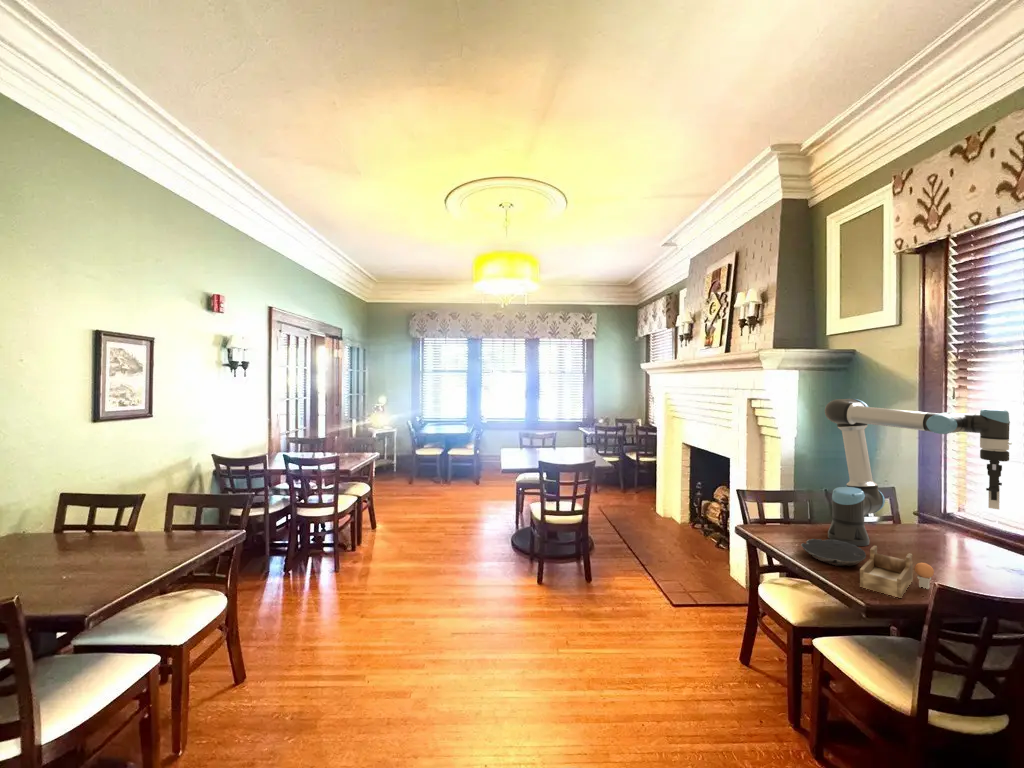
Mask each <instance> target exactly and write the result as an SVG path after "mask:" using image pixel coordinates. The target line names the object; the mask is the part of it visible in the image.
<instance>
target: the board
mask: <svg viewBox="0 0 1024 768" xmlns="http://www.w3.org/2000/svg"><path fill="white" fill-rule="evenodd" d="M805 542H806V543H804V542H802V543H801V547H802V549H803V550H804V551H805V552H806V553H808V554H809V555H810V556H811V555H812V556H811V557H813V558H814V559H816V560H817V559H818V561H820V562H822V561H823V563H825V562H826V563H825V564H828V563H829V565H831V564H832V566H834V565H835V566H834V567H846V566H849V567H852V566H856V565H857V564H859V563H861V562H862V561H864V560H865V559H866V558H867V554H866V552H865V550H864V549H862V548H861V547H860V546H855V545H852V544H849V543H847V542H841V541H838V540H831V539H829V538H827V539H824V540H822V539H821V538H819V539H816V538H811V539H808V540H806V541H805Z"/></svg>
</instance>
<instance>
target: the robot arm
mask: <svg viewBox="0 0 1024 768" xmlns="http://www.w3.org/2000/svg"><path fill="white" fill-rule="evenodd" d="M824 414H825V417H826V418H827V420H828V421H830V422H832V423H835V424H836V426H837V428H838V429H839V430H840V431H841V434H842V439H843V440H842V441H843V446H844V451H845V452H844V453H845V459H846V465H847V471H848V472H847V473H848V477H849V481H848V482H847V483H846V486H844V487H843V486H839V487H835V488H834V489H833V490H832V495H831V500H832V501H831V502H832V503H831V505H832V506H831V507H832V508H831V513H832V514H831V515H832V517H831V518H832V521H831V523H830V526H829V528H828V530H827V539H828V540H838V541H841V542H847V543H849V544H852V545H855V546H857V547H866V546H869V545H870V537H869V535H868V531H867V529H866V527H865V515H869V514H875V513H878V512H879V511H881V510H882V509H883V507H884V506H885V504H886V499H885V496H884V494H883V492H881V491H880V490H879V485H878V483H876V482H875V481H874V479H873V475H872V469H871V463H870V462H871V461H870V456H869V452H868V451H869V450H868V443H867V439H866V433H865V432H866V431H865V429H866V428H868V426H869V425H875V426H880V427H881V426H882V427H883V426H884V427H891V428H899V429H906V430H914V431H915V430H916V431H923V432H924V431H925V432H931V433H934V434H939V435H940V434H941V435H948V434H952V433H975V434H979V448H980V450H979V458H980V459H981V460H985V461H989V463H986V470H987V475H988V476H989V477H988V479H989V480H988V481H989V482H988V487H986V488H985V490H986V491H988V509H991V510H993V509H994V510H1000V492H1001V491H1000V490H1001V489H1000V486H1003V485H1002V484H1003V482H1000V477H1002V471H1003V465H1002V464H1000V462H1009V461H1010V452H1009V450H1010V446H1011V445H1012V444H1013V443H1012V442H1011V441H1010V425H1011V422H1010V413H1009V411H1008V410H1006V409H991V408H983V409H981V410H980V412H979V413H966V412H965V413H964V412H952V411H950V412H946V411H945V412H941V413H939V412H937V413H936V412H928V411H927V412H924V411H916V410H915V411H914V410H904V409H893V408H885V407H884V408H883V407H873V406H872V407H871V406H869V405H868V404H867V403H866V402H864V401H863V400H860V399H857V398H843V399H842V398H837V399H833V400H831V401H829V402H828V403H827V404H826V405H825V408H824Z"/></svg>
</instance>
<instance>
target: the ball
mask: <svg viewBox="0 0 1024 768" xmlns="http://www.w3.org/2000/svg"><path fill="white" fill-rule="evenodd" d="M914 571H915V573H916V574H917V576H918V575H919V576H921V577H924V578H930V577H931V578H932V577H933V576H934V575H935V574H934V573H935V570H934V568H933V567H932V565H930V564H929V563H926V562H918V563H916V564H915V566H914Z"/></svg>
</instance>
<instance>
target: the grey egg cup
mask: <svg viewBox="0 0 1024 768" xmlns="http://www.w3.org/2000/svg"><path fill="white" fill-rule="evenodd" d="M916 578H917V579H918V588H921V587H923V588H922V589H925V588H926V590H929V589H930V582H931V581H932V577H930V578H924V577H921V576H919V575H918V574H917V576H916Z"/></svg>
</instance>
